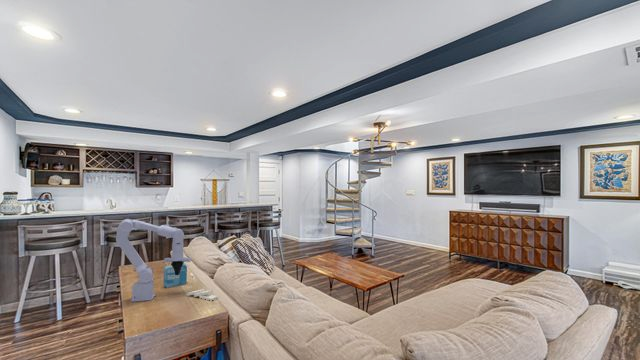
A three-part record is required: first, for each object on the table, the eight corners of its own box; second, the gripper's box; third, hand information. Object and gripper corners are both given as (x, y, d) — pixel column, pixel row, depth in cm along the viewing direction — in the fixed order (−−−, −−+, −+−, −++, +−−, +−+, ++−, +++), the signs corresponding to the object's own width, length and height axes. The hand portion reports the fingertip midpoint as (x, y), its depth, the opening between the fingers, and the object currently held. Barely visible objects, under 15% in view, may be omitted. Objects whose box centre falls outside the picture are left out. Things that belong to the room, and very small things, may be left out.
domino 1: (186, 293, 155) (200, 290, 153) (191, 291, 159) (205, 288, 157) (186, 296, 155) (200, 293, 153) (191, 293, 159) (205, 290, 157)
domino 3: (199, 296, 152) (211, 298, 148) (205, 293, 155) (217, 296, 152) (199, 298, 152) (211, 301, 148) (205, 295, 155) (217, 298, 152)
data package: (165, 288, 167) (165, 268, 168) (163, 286, 170) (163, 266, 171) (186, 284, 175) (187, 264, 176) (184, 282, 178) (184, 263, 179)
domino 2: (193, 294, 153) (207, 292, 151) (198, 292, 157) (212, 289, 155) (194, 297, 153) (207, 294, 151) (199, 294, 157) (212, 292, 155)
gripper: (161, 252, 156) (160, 276, 155) (187, 251, 156) (187, 276, 156) (167, 249, 163) (167, 273, 162) (193, 249, 163) (192, 272, 163)
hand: (177, 274), depth 160 cm, fingers closed
